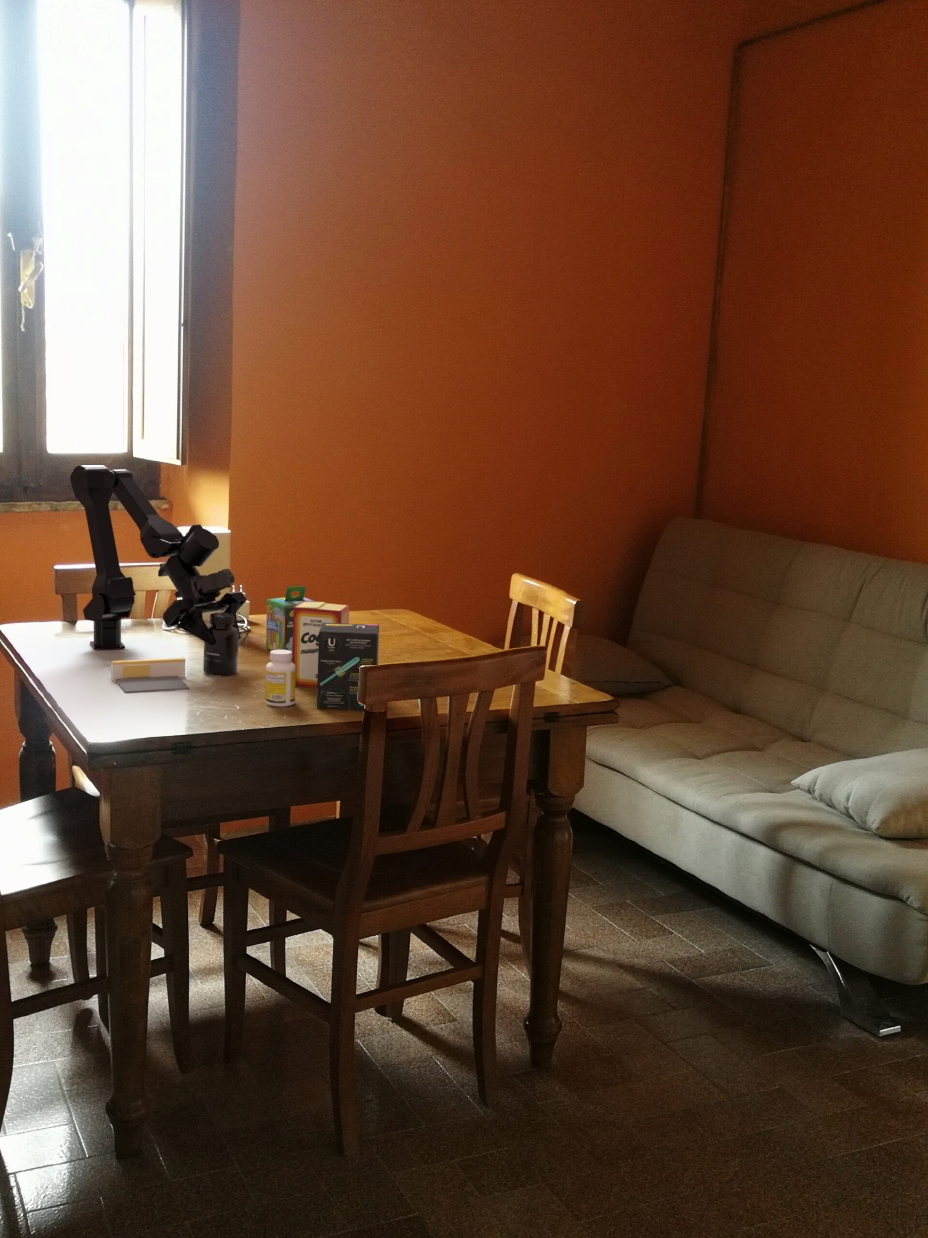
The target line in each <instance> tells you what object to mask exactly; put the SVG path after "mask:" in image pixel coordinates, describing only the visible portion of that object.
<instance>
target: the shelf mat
mask: <svg viewBox="0 0 928 1238" xmlns="http://www.w3.org/2000/svg"><path fill="white" fill-rule="evenodd" d="M115 682H116V683H117V684H118V685H119V687H120V689H121V690H122V691H123V693H125V694H127V693H129V694H130V693H147V692H163V691H165V692H166V691H167V692H168V691H182V690H183V691H185V690H186V691H187V690H190V686H189V685H188V684H186V682H185V681H184V680H183V679H182V678H181V677H179V676H164V677H145V678H125V679H116V680H115Z"/></svg>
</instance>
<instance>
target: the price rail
mask: <svg viewBox="0 0 928 1238" xmlns="http://www.w3.org/2000/svg"><path fill="white" fill-rule="evenodd" d="M164 676H179V677H180V678H181V677H186V658H185V657H176V658H175V657H174V658H157V659H155V658H153V659H152V658H151V659H150V658H149V659H131V660H130V659H129V660H112V661H111V680H112V681H116V679H125V678H145V677H164Z"/></svg>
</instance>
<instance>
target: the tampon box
mask: <svg viewBox="0 0 928 1238" xmlns="http://www.w3.org/2000/svg"><path fill="white" fill-rule="evenodd" d="M379 641H380V624H371V623H370V624H368V623H348V624H344V623H322V625H321V628H320V631H319V646H318V677H317V688H316V709H318V710H348V711H349V710H352V711H353V710H354V711H365V710H364V705H361V704H359V703H358V701H357V692H358V681H359V667H360V666H362V665H378V666H379V646H380V645H379V644H380V643H379Z"/></svg>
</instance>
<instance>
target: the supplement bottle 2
mask: <svg viewBox="0 0 928 1238" xmlns="http://www.w3.org/2000/svg"><path fill="white" fill-rule="evenodd" d="M269 660H271V661H270V662H268V663H267V664H266V666H265V703H266V704H267V705H268V706H271V707H276V708H277V707H278V708H279V707H282V708H283V707H289V706H292V705H294V704H295V703H296V686H295V677H296V667H295V665H294V664H293V663H292V651H289V650H270V652H269Z"/></svg>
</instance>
